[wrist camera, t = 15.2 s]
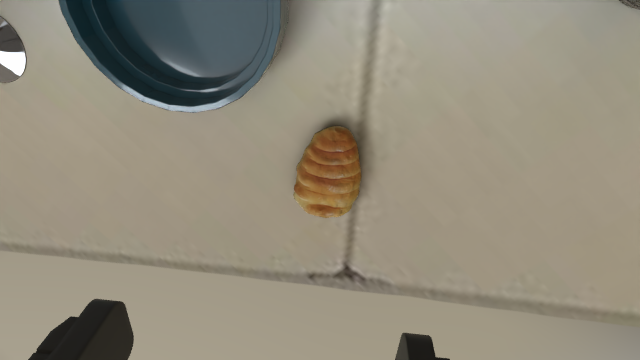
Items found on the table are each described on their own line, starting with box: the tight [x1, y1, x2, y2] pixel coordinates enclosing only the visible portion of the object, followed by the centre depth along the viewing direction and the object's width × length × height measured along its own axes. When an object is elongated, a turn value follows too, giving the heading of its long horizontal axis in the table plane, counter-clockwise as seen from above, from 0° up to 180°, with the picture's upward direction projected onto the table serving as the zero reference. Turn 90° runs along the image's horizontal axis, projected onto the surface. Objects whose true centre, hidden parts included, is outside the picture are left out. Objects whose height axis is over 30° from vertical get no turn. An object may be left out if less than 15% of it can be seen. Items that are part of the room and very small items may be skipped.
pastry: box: [293, 126, 361, 218], centre depth 38 cm, size 9×7×4 cm
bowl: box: [59, 0, 288, 113], centre depth 31 cm, size 17×17×4 cm
